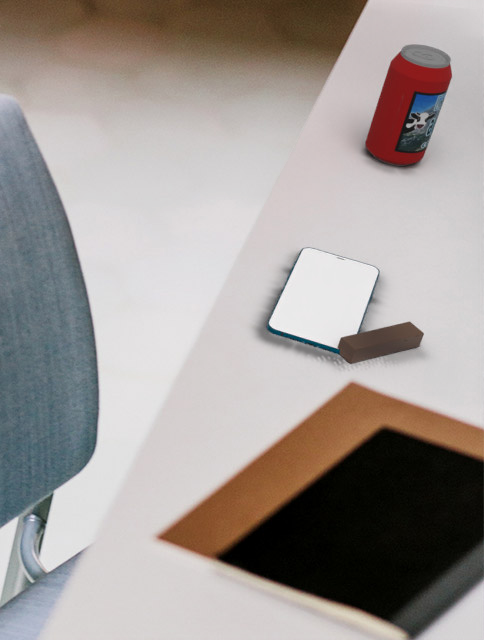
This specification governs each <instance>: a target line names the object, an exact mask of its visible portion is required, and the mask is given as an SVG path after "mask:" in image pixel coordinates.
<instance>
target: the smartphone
mask: <svg viewBox="0 0 484 640" xmlns="http://www.w3.org/2000/svg"><path fill="white" fill-rule="evenodd" d="M380 273H381V271H380V269H379V268H378V267H376V266H375V265H373V264H370V263H367V262H363V261H359V260H355V259H352V258H348V257H346V256H342V255H339V254H335V253H331V252H328V251H325V250H321V249H318V248H315V247H307V246H306V247H303V248H301V250H300V252H299V254H298V256H297V258H296V259H295V261H294V263H293V266H292V267H291V269H290V272H289V273H288V275H287V278H286V282H285V284H284V286H283V287H282V289H281V292H280V295H279V296H278V299H277V301H276V302H275V305H274V307H273V310H272V312H271V314H270V316H269V318H268V320H267V323H266V330H267V331H268V332H269V333H271V334H273V335H276V336H279V337H282V338H284V339H290V340H292V341H295V342H299V343H301V344H304V345H307V344H310V345H313V347H314V348H318V349H320V350H321V349H322V350H324V351H327V352H330V353H333V354H336V355H340V354H339V352H340V349H338V348H337V347H338V344H339V342H340V339H341V337H345V336H349V335H354V334H358V333H360V331H361V328H362V325H363V323H364V319H365V317H366V313H367V310H368V308H369V305H370V304H371V300H372V298H373V296H374V291H375V288H376V285H377V282H378V279H379V276H380ZM340 356H341V355H340Z"/></svg>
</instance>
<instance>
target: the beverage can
mask: <svg viewBox="0 0 484 640" xmlns="http://www.w3.org/2000/svg"><path fill="white" fill-rule="evenodd" d="M451 62H452V59H451V56H450V55H449V54H448V53H447V52H445V51H443V50H440V49H439V48H437V47H433V46H429V45H424V44H418V43H416V44H415V43H413V44H406V45H404V46H402V47H401V50H400V51H399V52H398V53H397V54H396V55H395V56H394V57H393V58H392V59H391V60H390V63H389V66H388V69H387V72H386V75H385V77H384V81H383V84H382V88H381V90H380V94H379V97H378V100H377V103H376V106H375V110H374V113H373V116H372V119H371V122H370V125H369V130H368V133H367V136H366V140H365V148H366V149H367V150H368V151H369V153H371V155H372V156H373V157H374V158H375V159H377V160H378V161H380V162H382V163H385V164H388V165H392V166H396V167H397V166H399V167H405V166H406V167H407V166H410V165H412V164H415V163H419V162H420V161H422V160H423V159H424V156H425V154H426V151H427V149H428V147H429V143H430V140H431V138H432V135H433V131H434V129H435V127H436V124H437V121H438V119H439V115H440V113H441V110H442V107H443V105H444V101H445V98H446V95H447V93H448V90H449V87H450V84H451V82H452V79H453V71H452V65H451Z"/></svg>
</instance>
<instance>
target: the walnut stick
mask: <svg viewBox="0 0 484 640" xmlns="http://www.w3.org/2000/svg"><path fill="white" fill-rule="evenodd" d="M424 335H425V333H424V332H423V331H422V330H421V329H420V328H419V327H417V326H416V325H415V324H414V323H413V322H412V321H406V322H401V323H397V324H392V325H388V326H384V327H379V328H375V329H372V330H367V331H363V332H359V333H358V334H354V335H349V336H345V337H341V339H340V342H339V344H338V347H337V348H338V349H340V352H339V354H340V356H341V357H342V358H343V359H344V360H345V361H346V362H347V363H349V364H354V363H359V362H363V361H366V360H371V359H375V358H379V357H383V356H386V355H392V354H394V353H395V354H396V353H399V352H403V351H407V350H411V349H415V348H419V347H420V346H421V343H422V340H423V338H424ZM339 354H338V355H339Z"/></svg>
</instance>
